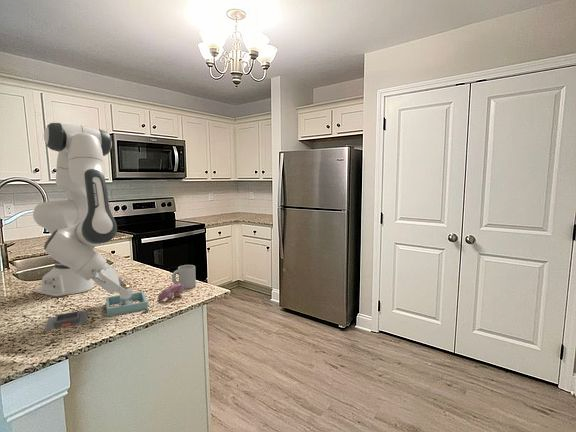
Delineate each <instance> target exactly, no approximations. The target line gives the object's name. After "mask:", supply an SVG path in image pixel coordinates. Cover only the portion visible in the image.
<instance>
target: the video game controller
mask: <svg viewBox="0 0 576 432" xmlns="http://www.w3.org/2000/svg"><path fill="white" fill-rule="evenodd" d="M185 290H186V289H185V287H184V286H183V285H182V284H180V283H179V284H174V283H172V284H171V285H169V286H167V287H165V288H164V289H163V290H162V292H160V293H159V294H158V295H157V299H158V301H164V300H165V299H167V300H168V301H169V300H171V299H172V298H173V297H174V298H177V297H179V295H180V294H182V293H183V292H184V291H185Z"/></svg>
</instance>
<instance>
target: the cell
mask: <svg viewBox="0 0 576 432" xmlns="http://www.w3.org/2000/svg"><path fill="white" fill-rule="evenodd" d="M125 283H126V284H122V285H120V286H121V287H123V288H124V289H126V290H128V292H129V293H128V294H127V296H124V295H122V294H120V293H119V295H120V303H119V306H123V305H128V304H134V303H133V301H134V300H132V293H133V289H132V288H133V287H132V286H133V285H132V283H127V282H125Z"/></svg>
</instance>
